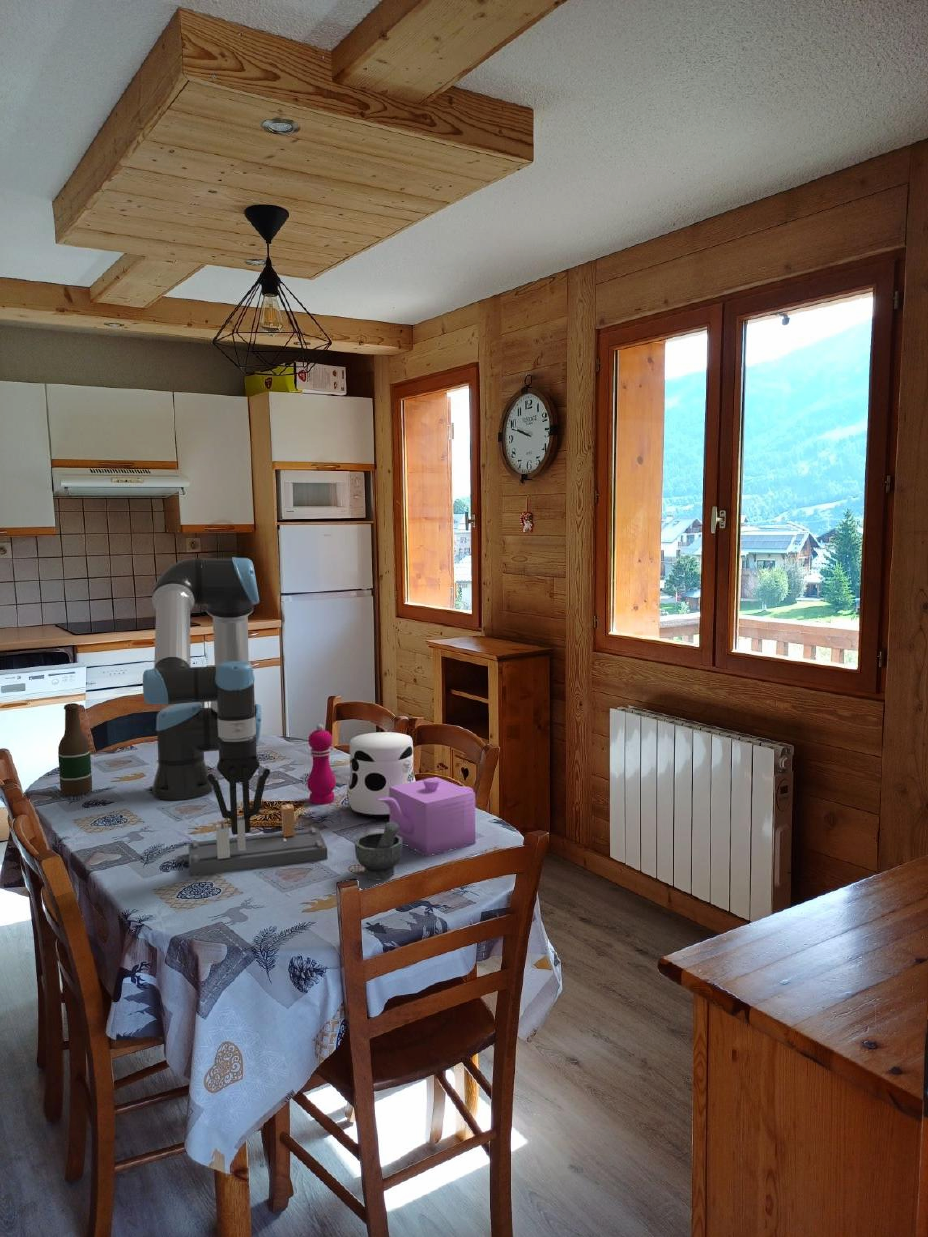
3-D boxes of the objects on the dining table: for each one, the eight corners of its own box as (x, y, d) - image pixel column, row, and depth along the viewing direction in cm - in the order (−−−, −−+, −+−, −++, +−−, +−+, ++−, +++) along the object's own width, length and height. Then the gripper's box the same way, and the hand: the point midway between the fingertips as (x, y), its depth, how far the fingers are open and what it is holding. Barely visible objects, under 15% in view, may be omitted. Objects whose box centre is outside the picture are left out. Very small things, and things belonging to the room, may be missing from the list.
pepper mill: (330, 805, 224) (328, 728, 221) (303, 804, 225) (301, 726, 223) (340, 797, 231) (338, 721, 228) (313, 795, 232) (311, 720, 230)
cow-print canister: (432, 809, 220) (431, 738, 218) (379, 827, 207) (378, 752, 205) (385, 795, 232) (383, 727, 230) (333, 811, 219) (331, 740, 217)
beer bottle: (54, 795, 235) (48, 706, 232) (76, 787, 242) (71, 700, 239) (76, 798, 232) (71, 708, 229) (98, 790, 239) (93, 702, 236)
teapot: (362, 844, 197) (360, 782, 196) (454, 821, 212) (453, 763, 210) (398, 865, 185) (397, 799, 183) (493, 839, 200) (492, 778, 198)
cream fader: (217, 853, 185) (216, 824, 184) (229, 852, 185) (227, 823, 185) (217, 859, 182) (216, 829, 181) (229, 857, 183) (228, 827, 182)
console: (188, 853, 192) (188, 840, 192) (318, 838, 201) (317, 825, 200) (189, 876, 180) (189, 862, 180) (327, 858, 188) (327, 845, 188)
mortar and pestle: (347, 872, 181) (345, 815, 180) (385, 860, 187) (384, 805, 186) (376, 889, 173) (375, 830, 171) (416, 877, 178) (415, 819, 177)
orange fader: (282, 832, 197) (281, 804, 196) (293, 831, 198) (292, 803, 197) (283, 836, 194) (282, 808, 194) (294, 835, 195) (294, 807, 194)
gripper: (204, 744, 177) (209, 859, 179) (271, 739, 180) (275, 851, 183) (203, 736, 184) (208, 846, 186) (267, 730, 188) (271, 838, 190)
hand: (241, 848), depth 185 cm, fingers closed
